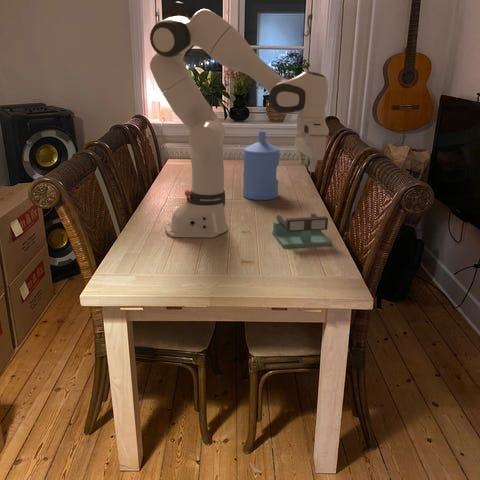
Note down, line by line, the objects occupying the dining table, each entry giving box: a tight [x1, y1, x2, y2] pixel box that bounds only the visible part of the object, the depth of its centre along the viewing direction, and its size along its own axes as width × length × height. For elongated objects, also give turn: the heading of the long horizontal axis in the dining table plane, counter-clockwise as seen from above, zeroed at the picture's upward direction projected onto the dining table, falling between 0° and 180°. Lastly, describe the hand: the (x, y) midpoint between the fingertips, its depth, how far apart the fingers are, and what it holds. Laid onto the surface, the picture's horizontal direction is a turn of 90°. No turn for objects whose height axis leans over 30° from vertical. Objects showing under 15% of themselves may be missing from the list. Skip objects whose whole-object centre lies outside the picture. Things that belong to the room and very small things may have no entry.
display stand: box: [271, 220, 333, 249], centre depth 174 cm, size 17×14×5 cm
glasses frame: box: [276, 213, 329, 232], centre depth 174 cm, size 14×13×4 cm
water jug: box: [242, 131, 281, 201], centre depth 220 cm, size 16×16×28 cm
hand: (306, 168), depth 166 cm, fingers open, 8 cm apart
